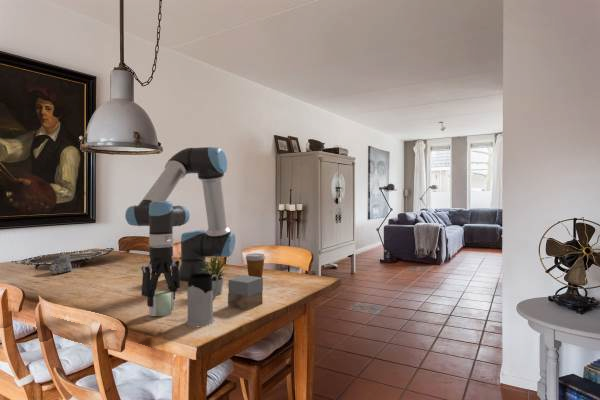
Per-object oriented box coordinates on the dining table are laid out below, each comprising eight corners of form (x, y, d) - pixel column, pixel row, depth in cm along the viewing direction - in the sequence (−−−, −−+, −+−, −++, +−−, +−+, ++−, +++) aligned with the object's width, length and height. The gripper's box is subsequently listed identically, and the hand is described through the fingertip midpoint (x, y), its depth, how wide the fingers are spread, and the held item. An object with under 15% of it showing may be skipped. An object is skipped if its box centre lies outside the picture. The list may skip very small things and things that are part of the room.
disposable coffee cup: (266, 277, 179) (266, 253, 179) (263, 281, 169) (262, 256, 169) (248, 276, 180) (248, 253, 180) (243, 281, 170) (243, 256, 170)
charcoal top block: (228, 293, 132) (228, 279, 132) (244, 287, 140) (244, 275, 140) (247, 296, 128) (247, 282, 128) (262, 290, 135) (262, 277, 135)
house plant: (193, 291, 153) (193, 252, 153) (226, 287, 159) (225, 250, 159) (198, 299, 140) (197, 258, 140) (233, 295, 146) (233, 255, 145)
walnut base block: (228, 307, 132) (228, 293, 132) (244, 300, 140) (244, 288, 140) (246, 311, 127) (246, 297, 127) (262, 304, 135) (262, 291, 135)
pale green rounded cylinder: (147, 314, 123) (147, 294, 123) (163, 309, 128) (163, 290, 128) (159, 318, 119) (159, 297, 119) (175, 312, 125) (175, 292, 125)
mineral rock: (51, 276, 182) (51, 256, 181) (41, 274, 187) (41, 255, 187) (78, 271, 193) (78, 253, 192) (67, 269, 198) (67, 251, 198)
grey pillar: (180, 325, 113) (180, 277, 113) (207, 311, 126) (207, 269, 126) (203, 328, 110) (203, 280, 110) (228, 314, 123) (228, 270, 123)
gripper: (142, 250, 113) (143, 323, 114) (190, 243, 130) (191, 307, 130) (128, 248, 117) (129, 318, 117) (176, 242, 133) (177, 303, 134)
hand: (161, 312), depth 124 cm, fingers closed on pale green rounded cylinder, 6 cm apart
